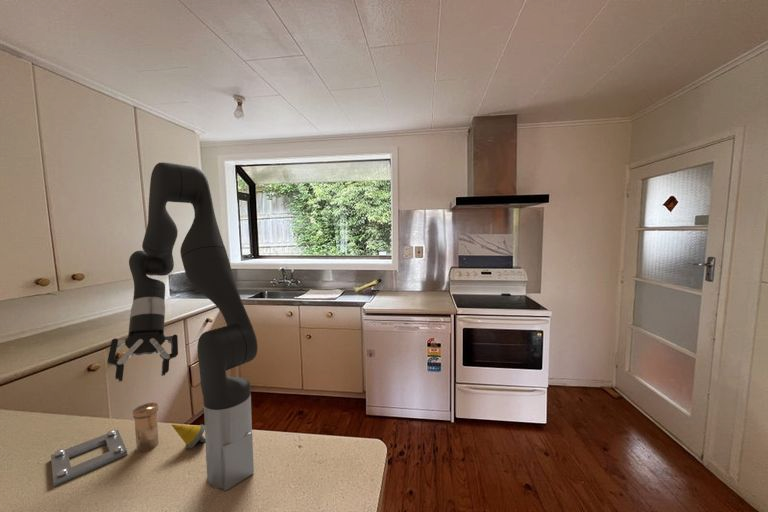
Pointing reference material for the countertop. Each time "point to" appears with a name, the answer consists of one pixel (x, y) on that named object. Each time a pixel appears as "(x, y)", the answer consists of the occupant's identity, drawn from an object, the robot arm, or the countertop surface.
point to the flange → (66, 472)
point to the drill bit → (190, 434)
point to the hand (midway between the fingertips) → (142, 378)
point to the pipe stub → (146, 426)
